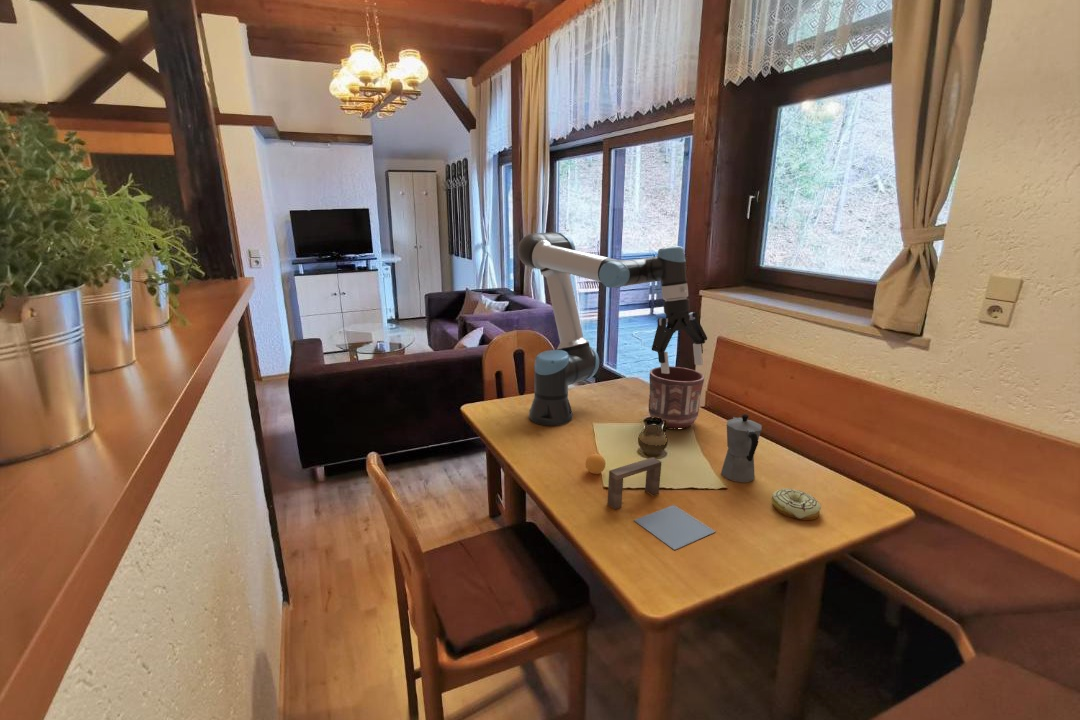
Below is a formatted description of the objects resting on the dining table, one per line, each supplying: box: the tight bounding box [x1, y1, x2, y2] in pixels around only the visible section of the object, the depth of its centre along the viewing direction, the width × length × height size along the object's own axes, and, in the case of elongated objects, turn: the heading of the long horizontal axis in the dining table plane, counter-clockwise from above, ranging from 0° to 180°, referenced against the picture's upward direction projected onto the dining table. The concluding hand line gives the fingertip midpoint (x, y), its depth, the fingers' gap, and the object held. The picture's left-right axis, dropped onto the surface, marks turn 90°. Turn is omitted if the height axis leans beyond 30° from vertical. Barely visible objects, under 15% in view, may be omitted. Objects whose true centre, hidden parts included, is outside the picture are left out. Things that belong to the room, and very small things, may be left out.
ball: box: [585, 453, 607, 475], centre depth 145 cm, size 6×6×6 cm
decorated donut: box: [771, 488, 822, 521], centre depth 128 cm, size 10×11×4 cm
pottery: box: [648, 366, 705, 430], centre depth 178 cm, size 18×18×18 cm
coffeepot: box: [720, 413, 762, 484], centre depth 142 cm, size 15×9×18 cm, turn 0°
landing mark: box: [633, 504, 717, 551], centre depth 121 cm, size 13×13×1 cm
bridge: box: [607, 456, 662, 510], centre depth 131 cm, size 3×14×9 cm, turn 122°
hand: (682, 369), depth 159 cm, fingers open, 13 cm apart
